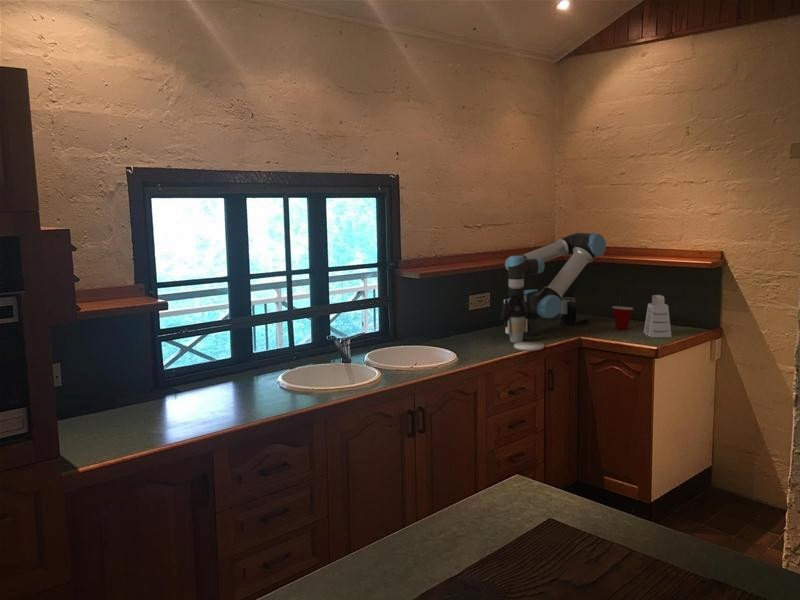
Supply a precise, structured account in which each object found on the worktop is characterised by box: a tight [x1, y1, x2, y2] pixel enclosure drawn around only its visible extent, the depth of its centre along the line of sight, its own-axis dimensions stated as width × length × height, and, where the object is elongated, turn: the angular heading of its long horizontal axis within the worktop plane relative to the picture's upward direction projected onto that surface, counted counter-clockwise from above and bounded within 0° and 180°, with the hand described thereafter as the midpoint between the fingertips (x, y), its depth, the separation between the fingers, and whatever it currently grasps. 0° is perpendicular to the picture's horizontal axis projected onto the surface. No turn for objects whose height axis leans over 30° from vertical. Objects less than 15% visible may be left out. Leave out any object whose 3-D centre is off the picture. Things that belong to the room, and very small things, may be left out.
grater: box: [643, 294, 672, 338], centre depth 346 cm, size 10×10×20 cm
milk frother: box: [558, 296, 592, 326], centre depth 383 cm, size 14×16×15 cm
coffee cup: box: [508, 309, 526, 344], centre depth 339 cm, size 9×9×15 cm
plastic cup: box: [611, 305, 634, 331], centre depth 365 cm, size 11×11×12 cm
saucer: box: [513, 341, 545, 351], centre depth 325 cm, size 14×14×1 cm
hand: (516, 332), depth 339 cm, fingers closed on coffee cup, 9 cm apart
